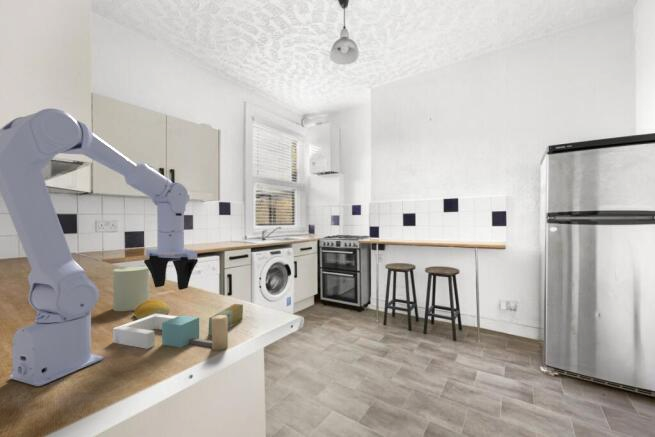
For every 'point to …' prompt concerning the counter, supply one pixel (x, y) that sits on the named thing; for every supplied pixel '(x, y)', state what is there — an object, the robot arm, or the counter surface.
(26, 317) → the counter surface
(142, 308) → the bread roll
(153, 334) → the white u-shaped bracket
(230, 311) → the medication box
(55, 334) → the robot arm
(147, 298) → the can
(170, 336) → the tethered block
